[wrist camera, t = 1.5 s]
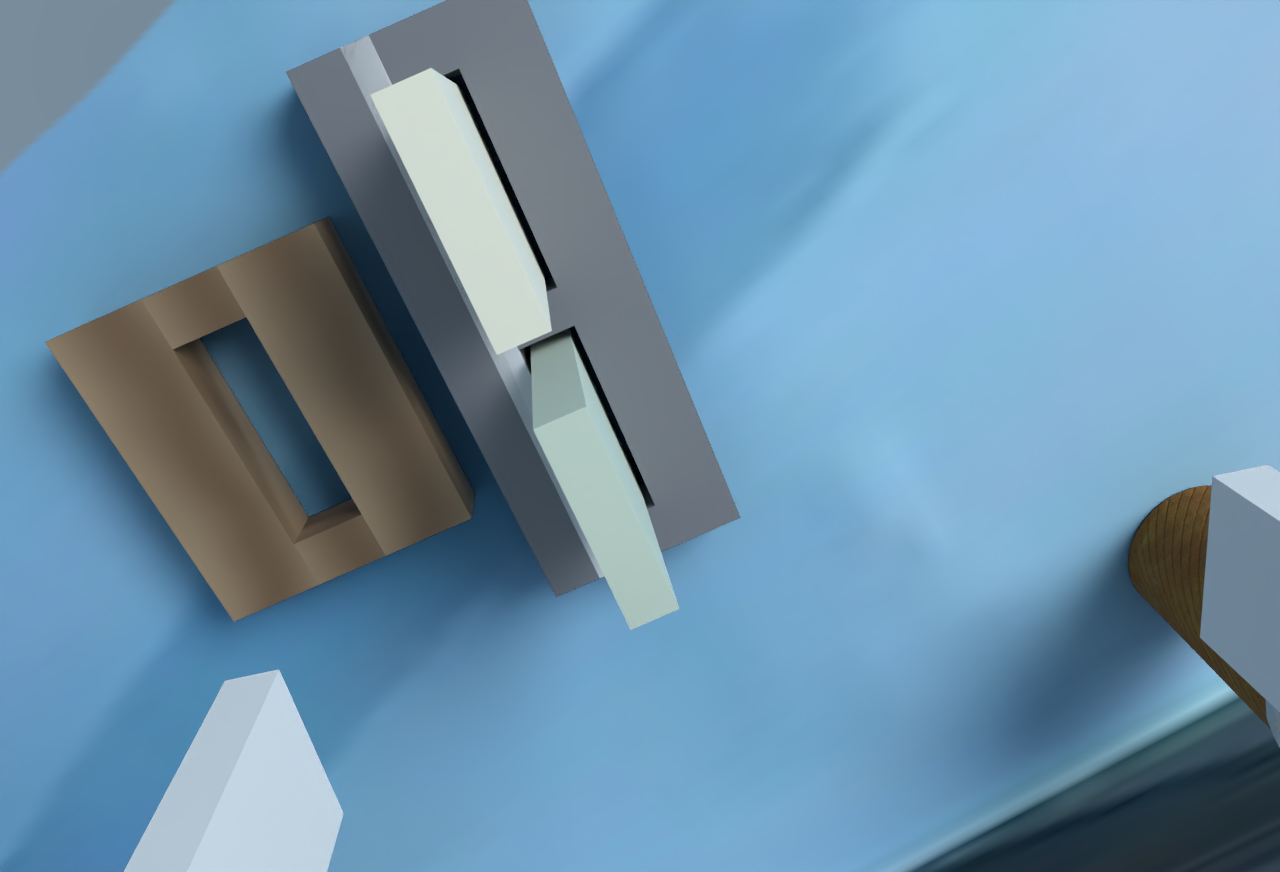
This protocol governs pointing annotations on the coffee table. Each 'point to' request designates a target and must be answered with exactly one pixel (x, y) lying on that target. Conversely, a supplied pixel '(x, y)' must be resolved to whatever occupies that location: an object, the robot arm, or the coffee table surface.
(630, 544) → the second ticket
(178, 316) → the frame
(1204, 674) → the coffee table surface
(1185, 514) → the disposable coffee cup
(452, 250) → the pale green slab
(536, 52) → the grey slotted plate
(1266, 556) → the robot arm
